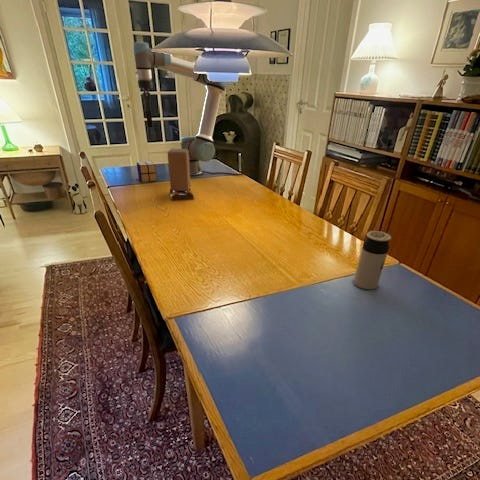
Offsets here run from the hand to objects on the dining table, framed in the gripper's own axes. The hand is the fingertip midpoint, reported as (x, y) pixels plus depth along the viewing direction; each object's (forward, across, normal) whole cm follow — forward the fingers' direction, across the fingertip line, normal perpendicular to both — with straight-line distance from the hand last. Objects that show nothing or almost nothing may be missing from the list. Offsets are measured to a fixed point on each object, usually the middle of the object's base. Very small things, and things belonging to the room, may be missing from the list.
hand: (149, 125), depth 193 cm
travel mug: (+33, +136, +66) cm, 155 cm away
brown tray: (+33, +24, +13) cm, 43 cm away
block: (+29, +24, +13) cm, 40 cm away
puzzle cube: (+33, -15, -5) cm, 37 cm away
